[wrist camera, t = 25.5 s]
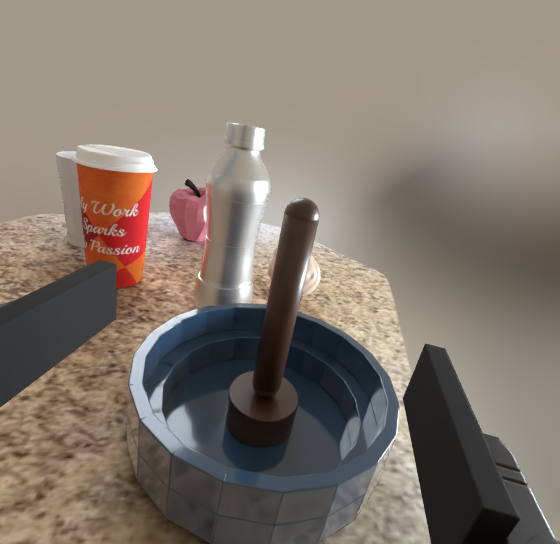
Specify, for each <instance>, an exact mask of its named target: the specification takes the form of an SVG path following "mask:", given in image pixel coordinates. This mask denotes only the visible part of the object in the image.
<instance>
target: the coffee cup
mask: <svg viewBox="0 0 560 544" xmlns="http://www.w3.org/2000/svg"><path fill="white" fill-rule="evenodd" d="M72 160H73V161H74V162H76V164H77V174H78V184H79V194H80V204H81V215H82V224H83V234H84V244H85V253H86V262H87V266H88V265H90V264H92V263H94V262H96V261H98V260H104V261H108V262H111V263H115V264H116V288H124V287H129V286H132V285H135V284H137V283H138V282H140V281H141V279H142V273H143V266H144V257H145V248H146V239H147V229H148V219H149V209H150V198H151V189H152V179H153V172H156V171H157V169H156V166H154V164H153V163H154V161H152V157H151V155H150V154H148V153H146V152H142V151H138V150H134V149H128V148H122V147H115V146H108V145H97V144H93V145H91V144H90V145H82V146H81V145H78V147H77V151H76V155H75V156H74V157H73V159H72Z"/></svg>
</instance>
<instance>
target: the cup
mask: <svg viewBox="0 0 560 544" xmlns="http://www.w3.org/2000/svg"><path fill="white" fill-rule="evenodd" d="M75 155H76V152H73V151H71V152H70V151H69V152H68V151H66V152H65V151H64V152H57V153H56V159H57V165H58V172H59V178H60V183H61V190H62V197H63V204H64V212H65V219H66V226H67V238H68V242H69V243H70V244H71V245H74V246H77V247H81V248H85V244H84V234H83V224H82V215H81V204H80V194H79V184H78V174H77V164H76V162H74V161H73V160H72V159H73V157H74V156H75Z"/></svg>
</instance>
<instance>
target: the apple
mask: <svg viewBox="0 0 560 544" xmlns="http://www.w3.org/2000/svg"><path fill="white" fill-rule="evenodd" d="M185 185H186V186H188V187H190V188H189V189H177V190H176V191H174V192H173V194H172V195H171V197H170V205H169V206H170V214H171V216H172V218H173V220H174V222H175V224H176V226H177V228H178V231H179V233H180V235H181V236H182V237H184V238H186V239H187V240H193V241H194V242H197V241H205V237H206V220H207V213H206V188H199V187H196V186H195V185H194V184H193V183H192V182H191V181H190V180H189V179H187V180H186V182H185Z"/></svg>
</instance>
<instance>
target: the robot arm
mask: <svg viewBox="0 0 560 544" xmlns="http://www.w3.org/2000/svg"><path fill="white" fill-rule="evenodd" d="M115 319H116V264H115V263H111V262H108V261H104V260H98V261H96V262H94V263H92V264H90V265H88V266H86V267H84V268H82V269H80V270H78V271H76V272H73V273H71V274H69V275H67V276H65V277H63V278H61V279H59V280H57V281H55V282H53V283H51V284H48V285H46V286H44V287H42V288H40V289H38V290H36V291H34V292H32V293H30V294H28V295H26V296H24V297H21V298H19V299H17V300H15V301H13V302H9V303H5V304H1V305H0V407H1V406H3V405H4V404H5V403H7V402H8V401H9V400H11V399H12V398H13V397H14V396H16V395H17V394H18V393H20V392H21V391H22V390H24V389H25V388H26V387H28V386H29V385H30V384H32V383H33V382H34V381H35V380H37V379H38V378H39V377H41V376H42V375H43V374H45V373H46V372H47V371H49V370H50V369H51V368H52V367H54V366H55V365H56V364H58V363H59V362H60V361H62V360H63V359H64V358H66V357H67V356H68V355H69V354H71V353H72V352H73V351H75V350H76V349H77V348H79V347H80V346H81V345H83V344H84V343H85V342H86V341H88V340H89V339H90V338H92V337H93V336H94V335H96V334H97V333H98V332H100V331H101V330H102V329H103V328H105V327H106V326H107V325H109V324H110V323H111V322H113V321H114V320H115ZM403 401H404V406H405V411H406V416H407V421H408V426H409V432H410V437H411V442H412V447H413V452H414V457H415V462H416V468H417V473H418V478H419V483H420V488H421V493H422V498H423V504H424V509H425V514H426V519H427V524H428V529H429V534H430V539H431V544H560V542H559V541H558V540H556V538H555V537H554V535H553V533H552V531H551V529H550V527H549V525H548V523H547V521H546V519H545V517H544V515H543V513H542V511H541V509H540V507H539V505H538V503H537V501H536V499H535V497H534V495H533V493H532V491H531V489H530V488H529V487H528V486H527V484H528V483H527V481H526V479H525V477H524V476H523V474H522V473H521V472H520V471H521V470H520V468H519V466H518V464H517V462H516V460H515V458H514V456H513V454H512V453H511V451H510V450H509V449H508V448H507V447H506V446H505V445H504V444H503V442H502V441H501V440H500V439H499V438H498V437H494V436H491V435H487V434H483V433H482V431H481V428H480V426H479V424H478V422H477V420H476V417H475V415H474V413H473V410H472V408H471V406H470V404H469V401H468V399H467V397H466V394H465V392H464V390H463V388H462V386H461V383H460V381H459V379H458V376H457V374H456V372H455V370H454V367H453V365H452V363H451V360H450V358H449V356H448V354H447V352H446V349H444V348H440V347H437V346H433V345H429V344H425V346H424V348H423V350H422V353H421V355H420V358H419V360H418V363H417V365H416V368H415V370H414V372H413V375H412V377H411V380H410V382H409V385H408V387H407V390H406V392H405V394H404V397H403Z"/></svg>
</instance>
